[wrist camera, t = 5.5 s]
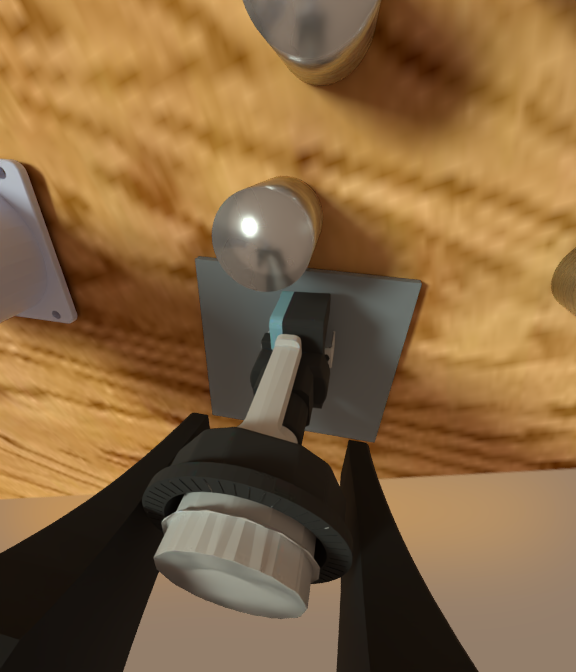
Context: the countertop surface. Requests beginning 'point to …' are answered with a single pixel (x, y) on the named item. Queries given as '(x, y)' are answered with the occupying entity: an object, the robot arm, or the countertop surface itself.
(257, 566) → the push button
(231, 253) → the cylinder
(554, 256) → the countertop surface
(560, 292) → the cylinder
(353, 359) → the mat
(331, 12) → the cylinder
